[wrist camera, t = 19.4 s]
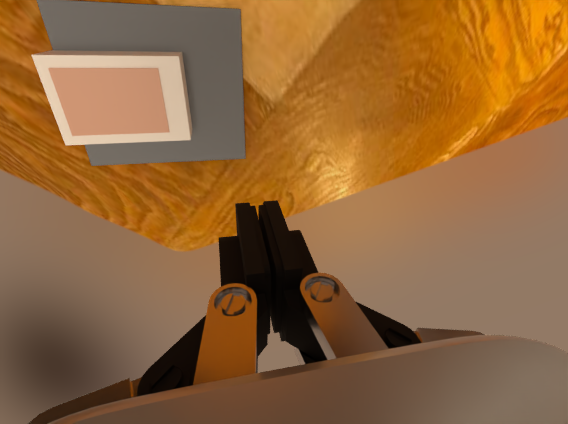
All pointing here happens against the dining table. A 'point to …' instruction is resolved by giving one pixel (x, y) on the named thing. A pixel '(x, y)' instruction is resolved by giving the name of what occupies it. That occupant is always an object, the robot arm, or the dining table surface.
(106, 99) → the slab
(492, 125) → the dining table surface
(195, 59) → the mat
